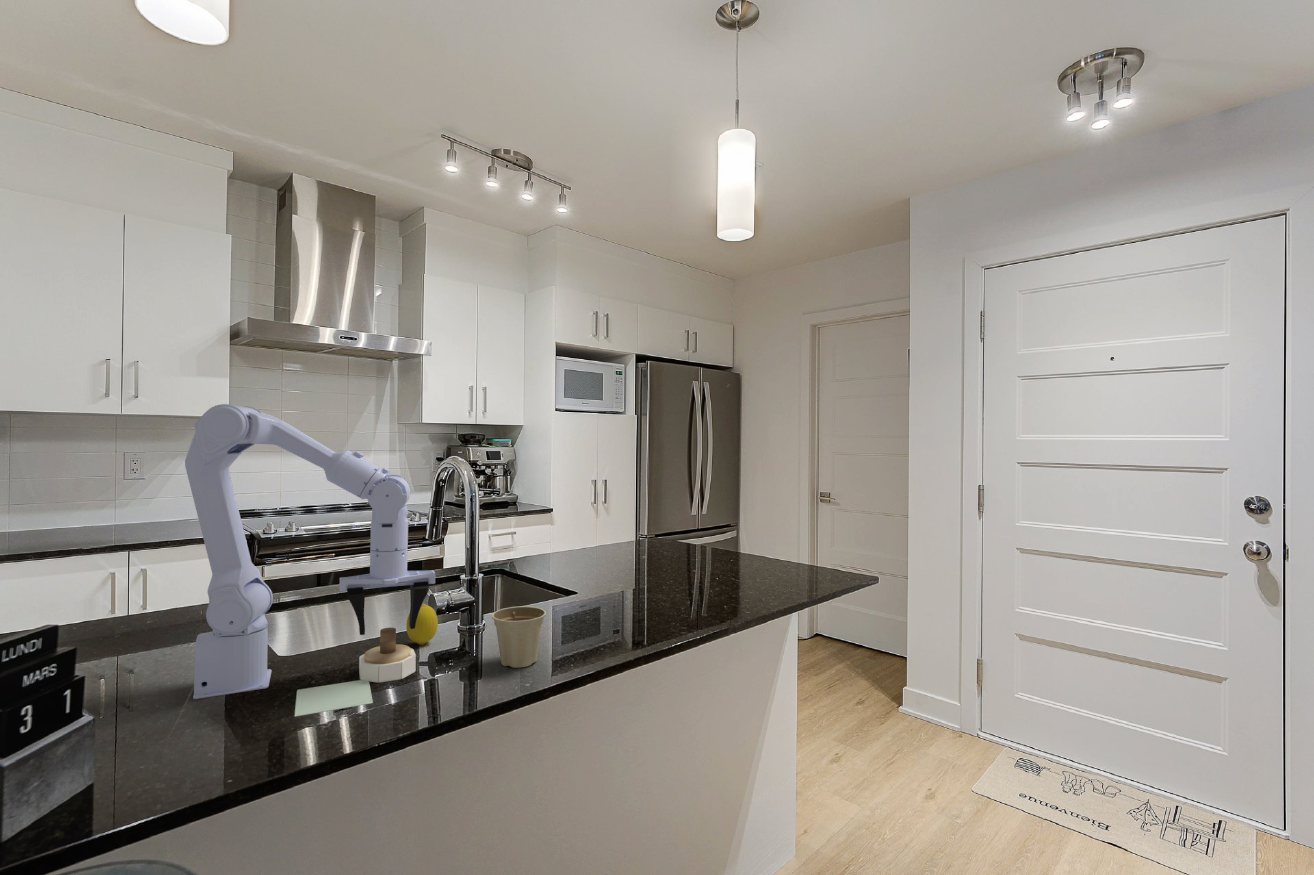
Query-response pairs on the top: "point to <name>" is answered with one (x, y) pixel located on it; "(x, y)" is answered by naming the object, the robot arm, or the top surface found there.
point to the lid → (387, 649)
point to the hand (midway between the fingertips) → (387, 630)
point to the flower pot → (518, 634)
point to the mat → (332, 697)
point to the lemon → (423, 625)
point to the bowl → (387, 669)
